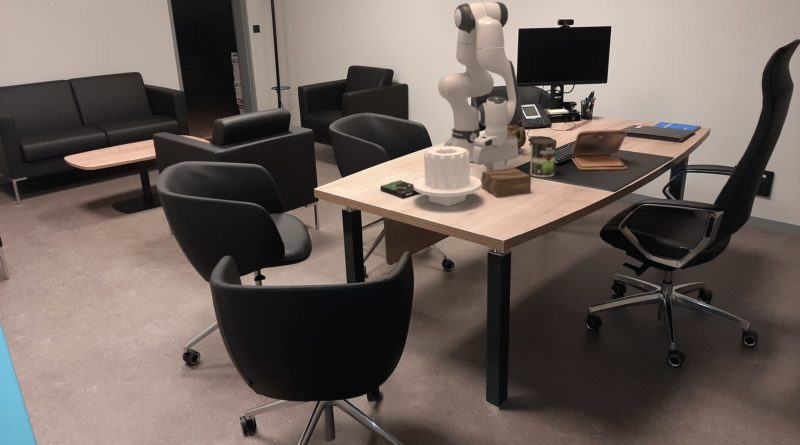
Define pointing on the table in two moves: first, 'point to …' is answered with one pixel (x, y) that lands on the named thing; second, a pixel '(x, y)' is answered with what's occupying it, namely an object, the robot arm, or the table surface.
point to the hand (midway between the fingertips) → (495, 171)
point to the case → (599, 150)
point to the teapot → (517, 134)
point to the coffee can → (543, 157)
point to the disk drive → (399, 189)
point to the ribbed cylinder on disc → (447, 176)
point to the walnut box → (506, 182)
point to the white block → (497, 165)
